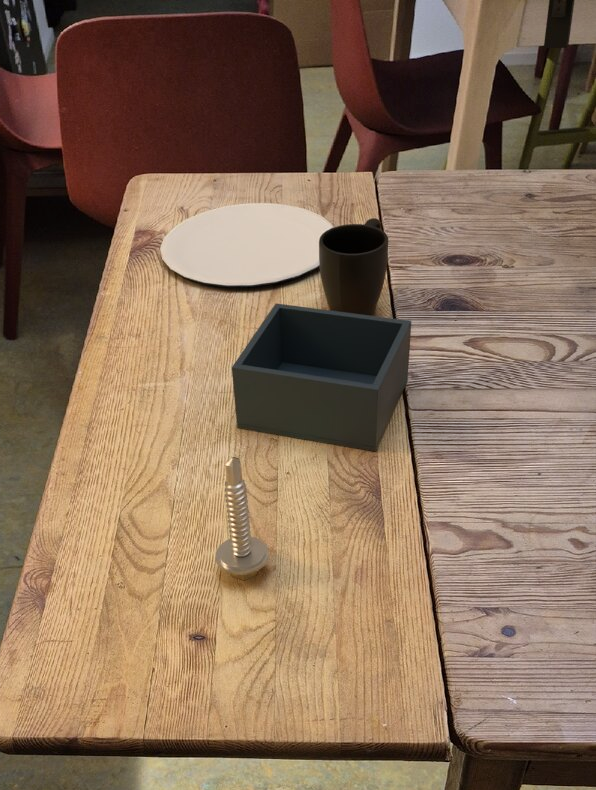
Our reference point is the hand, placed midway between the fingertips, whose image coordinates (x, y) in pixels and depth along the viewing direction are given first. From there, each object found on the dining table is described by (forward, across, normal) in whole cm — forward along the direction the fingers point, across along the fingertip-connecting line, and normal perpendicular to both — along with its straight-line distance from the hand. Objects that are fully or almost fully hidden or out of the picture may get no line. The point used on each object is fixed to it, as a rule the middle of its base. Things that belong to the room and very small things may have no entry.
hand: (556, 46), depth 112 cm
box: (+26, +46, -14) cm, 54 cm away
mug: (+24, +24, -17) cm, 38 cm away
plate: (+23, +13, -37) cm, 45 cm away
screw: (+28, +73, -13) cm, 79 cm away
